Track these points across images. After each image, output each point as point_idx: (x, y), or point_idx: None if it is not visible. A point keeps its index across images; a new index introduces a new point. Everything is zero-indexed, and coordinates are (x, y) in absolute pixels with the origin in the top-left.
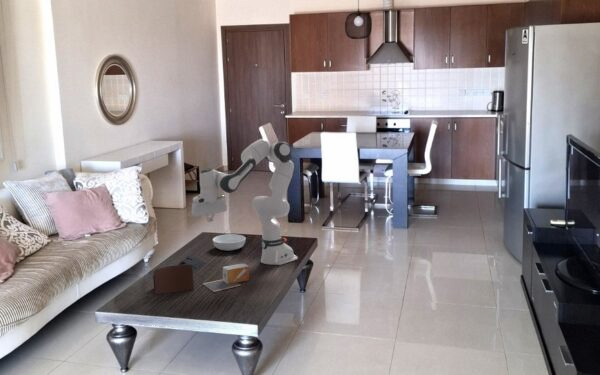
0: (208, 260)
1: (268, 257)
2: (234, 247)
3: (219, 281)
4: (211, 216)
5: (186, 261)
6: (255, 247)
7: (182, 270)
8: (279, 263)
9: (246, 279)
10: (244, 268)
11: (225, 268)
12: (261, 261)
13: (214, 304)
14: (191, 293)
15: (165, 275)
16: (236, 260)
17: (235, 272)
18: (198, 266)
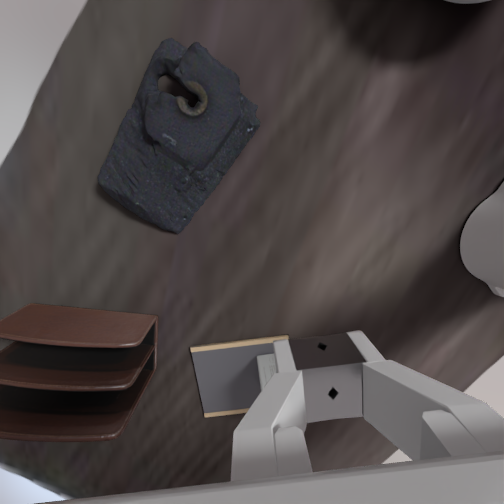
0: (287, 83)
1: (497, 274)
2: (466, 3)
3: (246, 351)
4: (391, 396)
5: (166, 127)
6: None
7: (83, 421)
8: (502, 296)
9: None
10: None
11: None
12: (464, 237)
13: (186, 480)
14: (143, 394)
15: (20, 406)
16: (393, 154)
17: None
18: (217, 171)
